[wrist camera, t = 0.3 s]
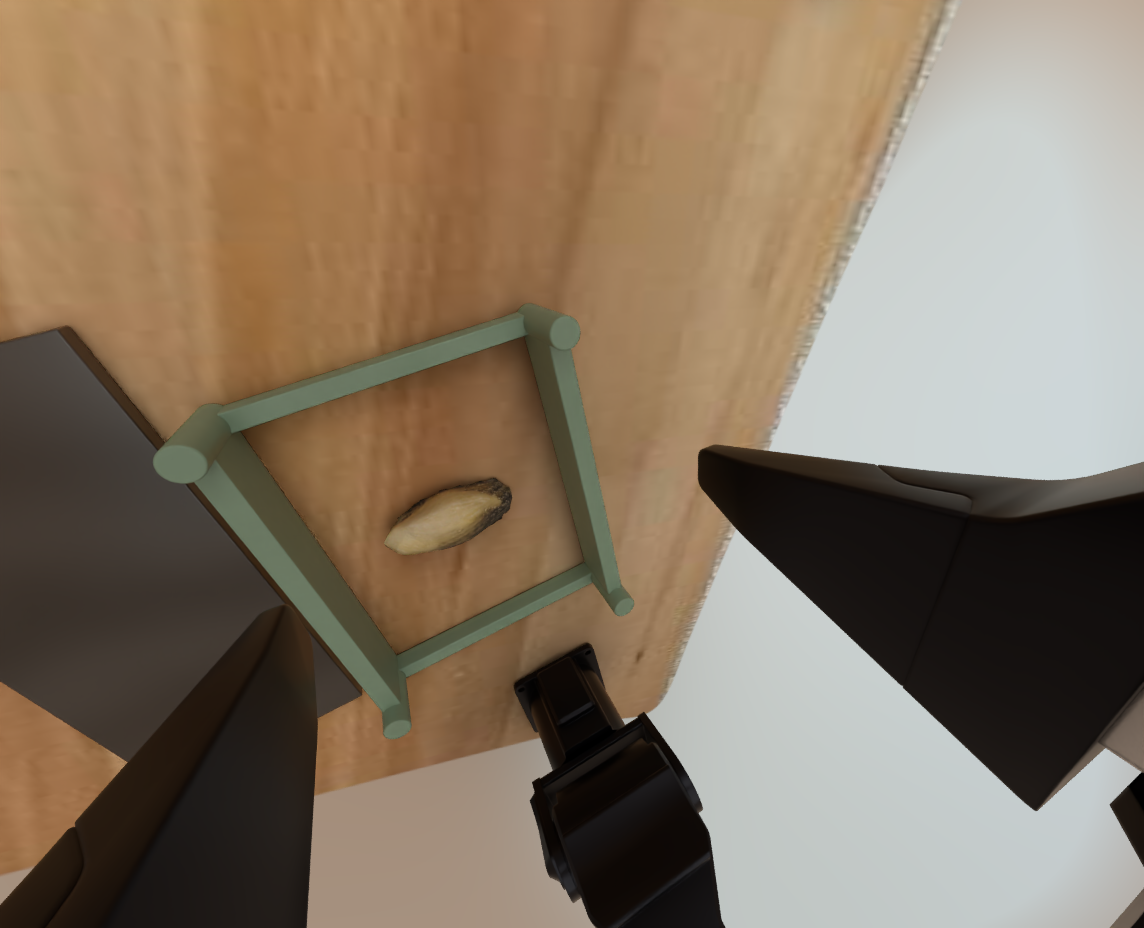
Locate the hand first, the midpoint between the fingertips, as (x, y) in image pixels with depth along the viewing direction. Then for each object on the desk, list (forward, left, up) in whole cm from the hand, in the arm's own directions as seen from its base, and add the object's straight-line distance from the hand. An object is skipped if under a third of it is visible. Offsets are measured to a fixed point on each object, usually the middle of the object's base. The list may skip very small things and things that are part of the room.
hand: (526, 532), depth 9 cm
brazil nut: (-7, +2, -14) cm, 16 cm away
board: (-5, +16, -14) cm, 22 cm away
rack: (-7, +2, -14) cm, 16 cm away
